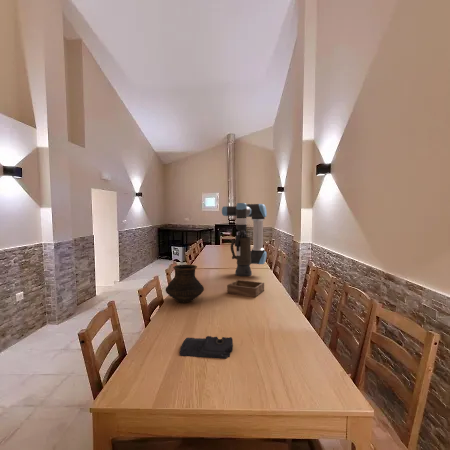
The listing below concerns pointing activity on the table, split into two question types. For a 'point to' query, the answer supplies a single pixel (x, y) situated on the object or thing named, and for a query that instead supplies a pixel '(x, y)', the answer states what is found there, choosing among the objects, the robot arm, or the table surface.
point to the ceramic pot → (184, 284)
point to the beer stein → (243, 251)
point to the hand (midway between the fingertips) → (241, 254)
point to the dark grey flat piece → (207, 347)
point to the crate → (245, 288)
